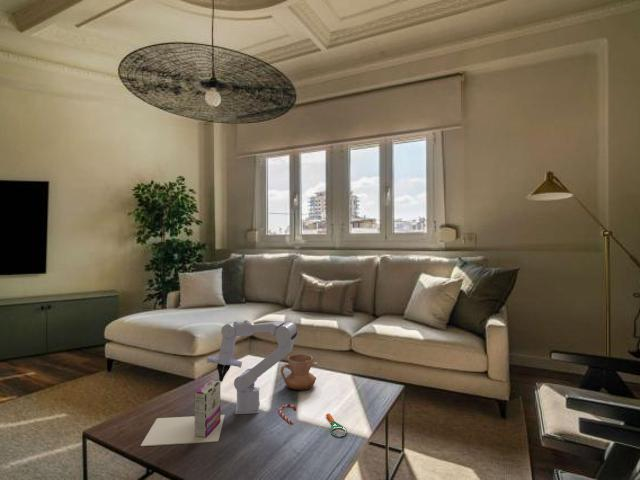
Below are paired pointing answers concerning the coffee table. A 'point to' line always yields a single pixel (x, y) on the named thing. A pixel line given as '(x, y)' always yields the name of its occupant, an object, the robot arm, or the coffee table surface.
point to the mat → (178, 432)
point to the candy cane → (283, 414)
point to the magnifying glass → (333, 423)
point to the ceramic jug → (299, 372)
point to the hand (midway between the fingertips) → (221, 380)
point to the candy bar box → (207, 408)
